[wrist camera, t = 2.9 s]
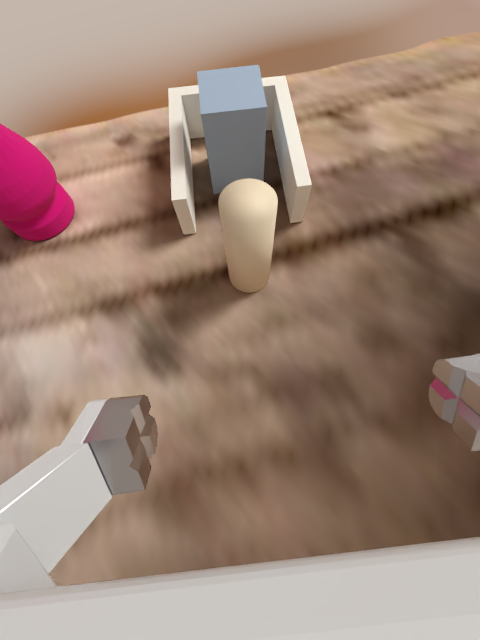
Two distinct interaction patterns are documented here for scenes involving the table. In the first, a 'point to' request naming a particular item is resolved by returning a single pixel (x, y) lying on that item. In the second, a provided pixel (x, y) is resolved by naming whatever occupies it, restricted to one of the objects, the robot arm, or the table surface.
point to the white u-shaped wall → (279, 120)
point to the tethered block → (240, 170)
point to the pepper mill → (30, 190)
